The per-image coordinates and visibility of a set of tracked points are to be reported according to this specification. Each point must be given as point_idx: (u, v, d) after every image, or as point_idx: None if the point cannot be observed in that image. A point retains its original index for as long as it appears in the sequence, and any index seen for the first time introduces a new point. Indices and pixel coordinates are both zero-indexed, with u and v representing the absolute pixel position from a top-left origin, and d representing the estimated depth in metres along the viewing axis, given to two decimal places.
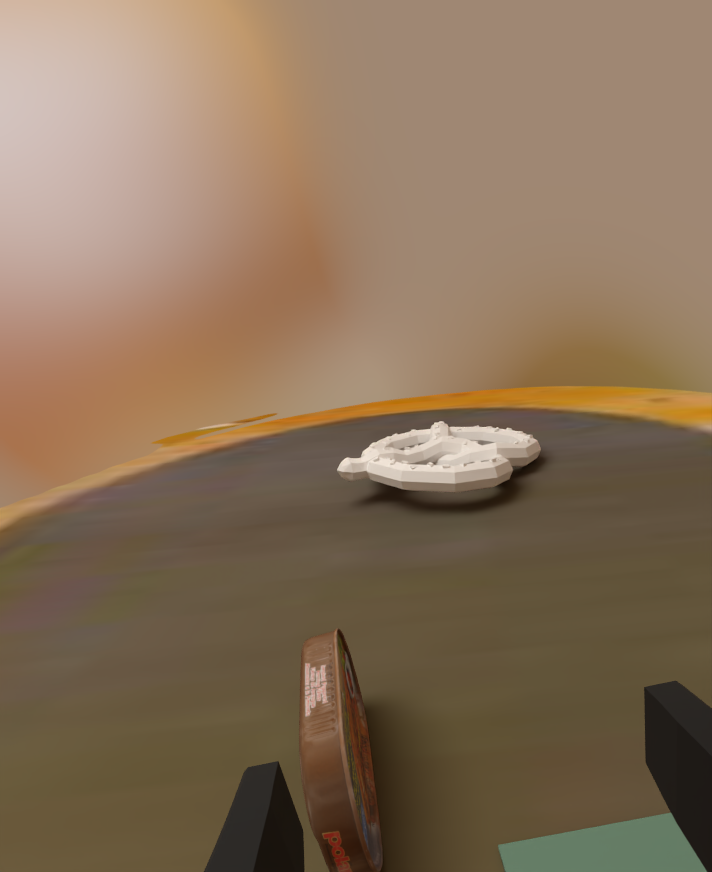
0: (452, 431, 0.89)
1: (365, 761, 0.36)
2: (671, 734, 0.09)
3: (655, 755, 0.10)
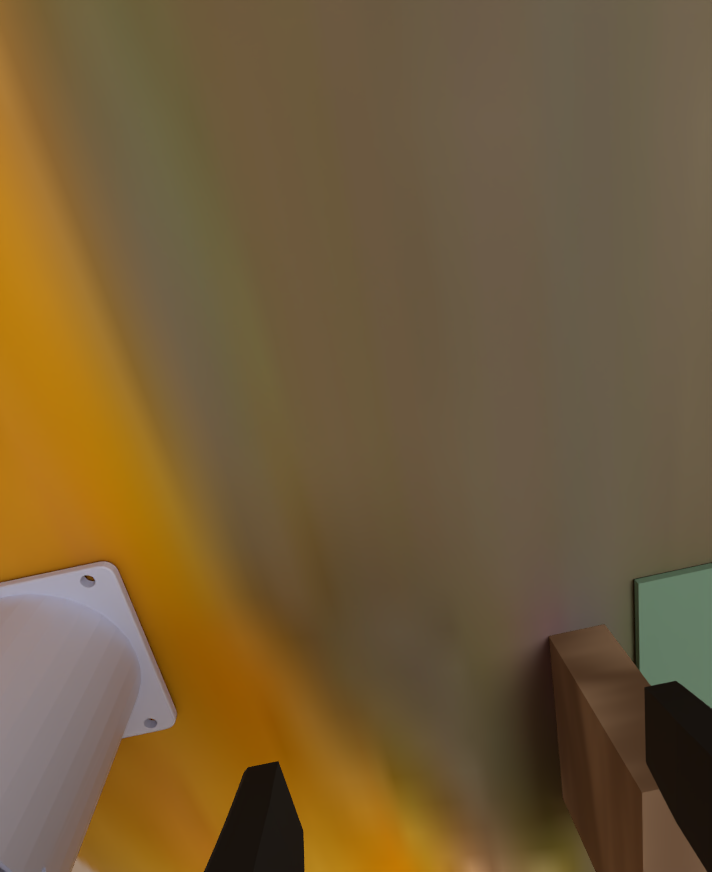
0: None
1: None
2: (671, 734, 0.09)
3: (655, 755, 0.10)
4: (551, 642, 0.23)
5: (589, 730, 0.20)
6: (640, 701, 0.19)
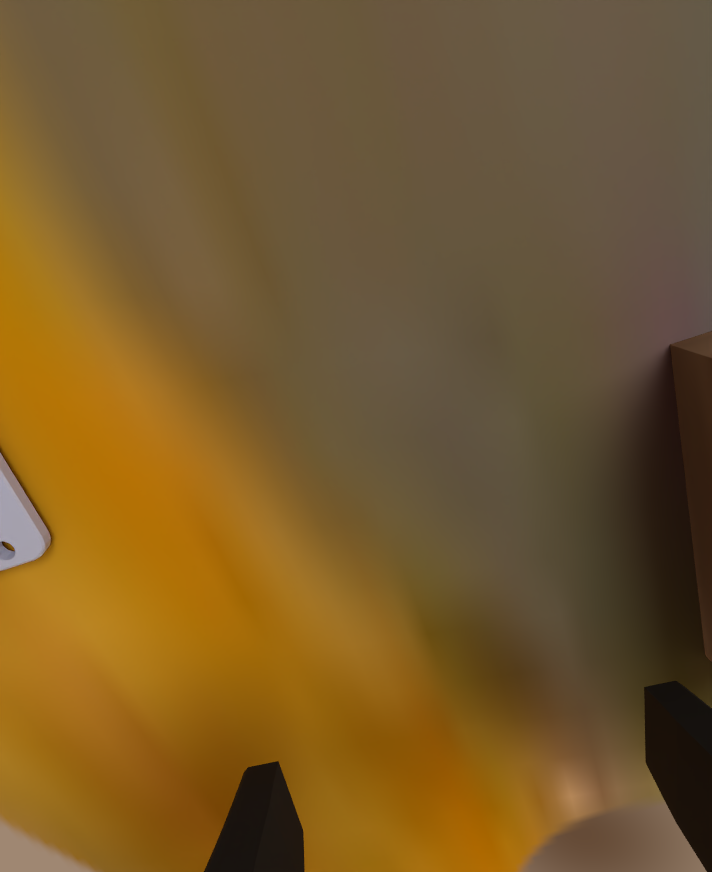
0: None
1: None
2: (671, 734, 0.09)
3: (655, 755, 0.10)
4: (676, 351, 0.13)
5: None
6: None
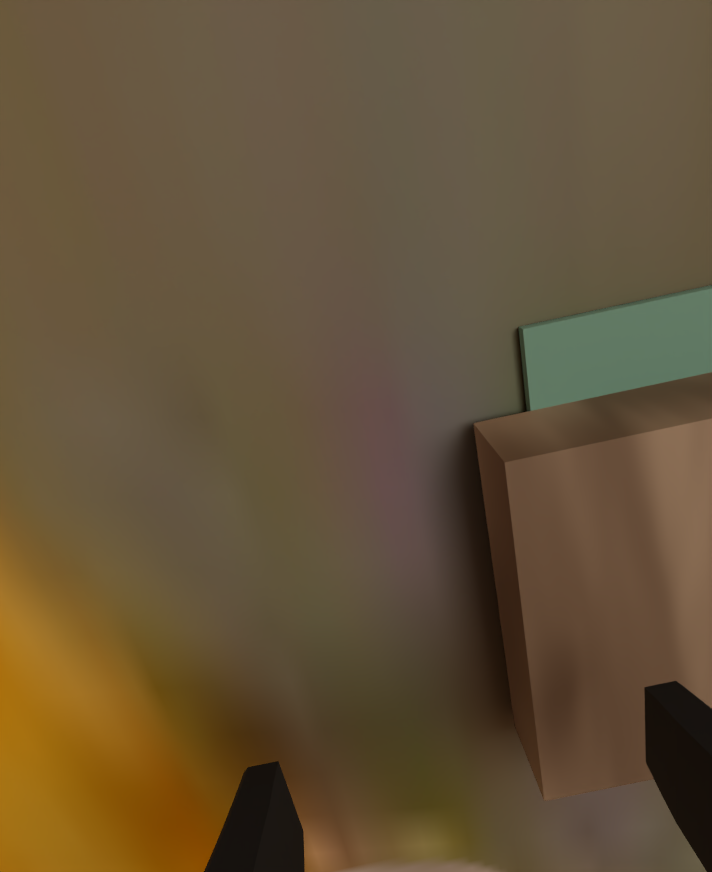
0: None
1: None
2: (671, 734, 0.09)
3: (655, 755, 0.10)
4: (520, 464, 0.11)
5: (679, 487, 0.11)
6: (652, 396, 0.12)
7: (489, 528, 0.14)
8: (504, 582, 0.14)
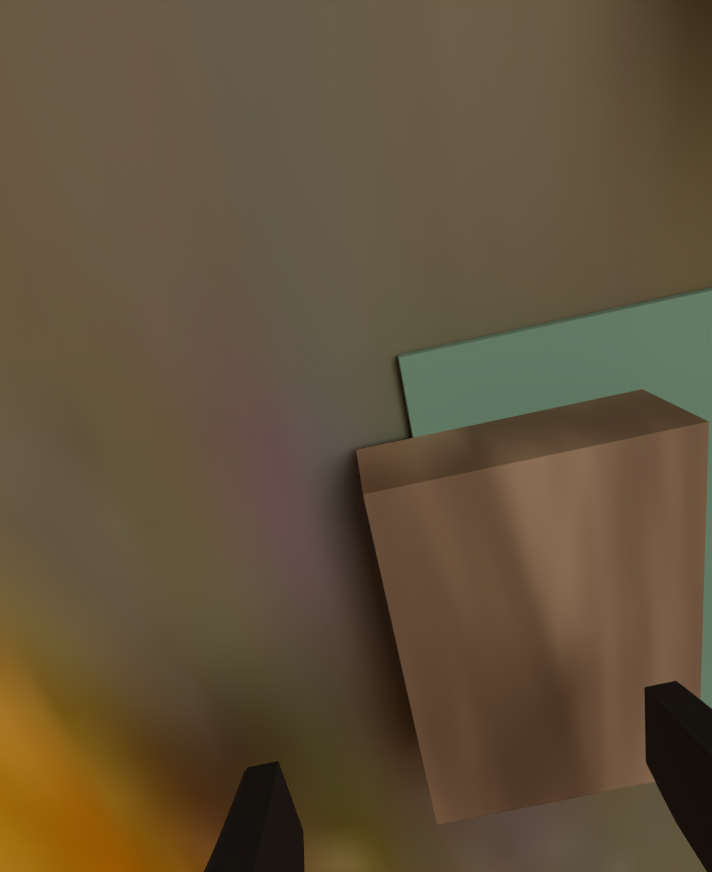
0: None
1: None
2: (671, 734, 0.09)
3: (655, 755, 0.10)
4: (379, 496, 0.11)
5: (543, 519, 0.11)
6: (528, 425, 0.12)
7: None
8: None
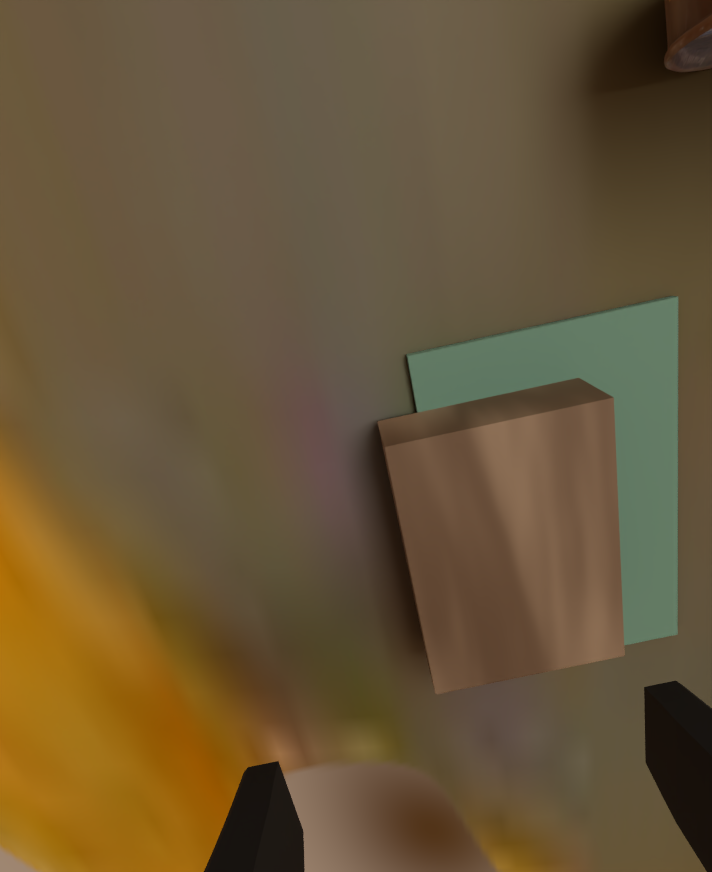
0: None
1: None
2: (671, 734, 0.09)
3: (655, 755, 0.10)
4: (395, 448, 0.16)
5: (505, 464, 0.17)
6: (497, 402, 0.18)
7: (393, 496, 0.19)
8: (401, 534, 0.19)
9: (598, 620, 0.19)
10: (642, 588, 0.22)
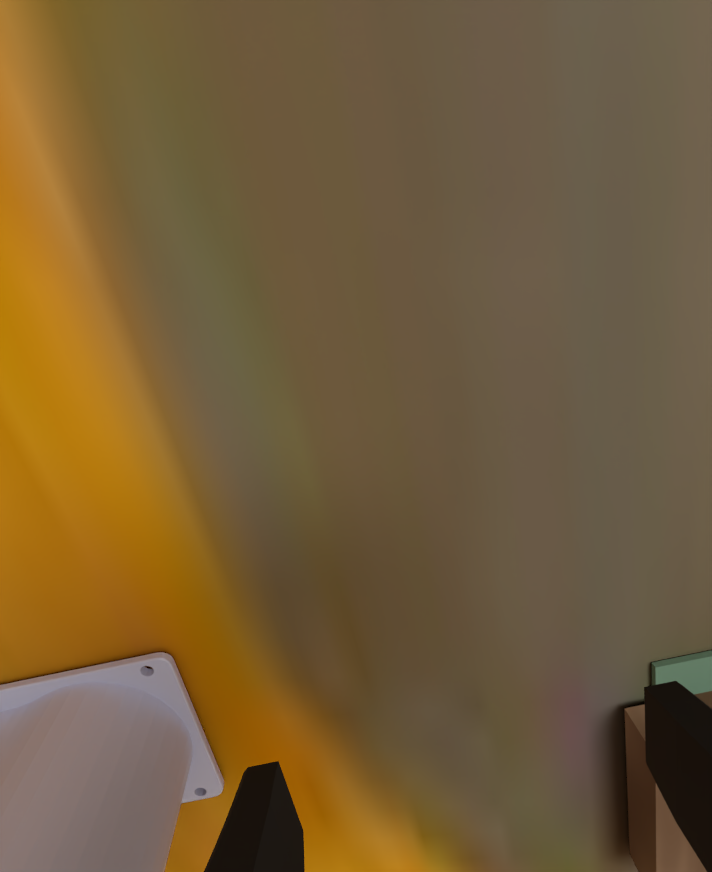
0: None
1: None
2: (671, 734, 0.09)
3: (655, 755, 0.10)
4: None
5: None
6: None
7: (628, 758, 0.25)
8: (639, 791, 0.25)
9: None
10: None
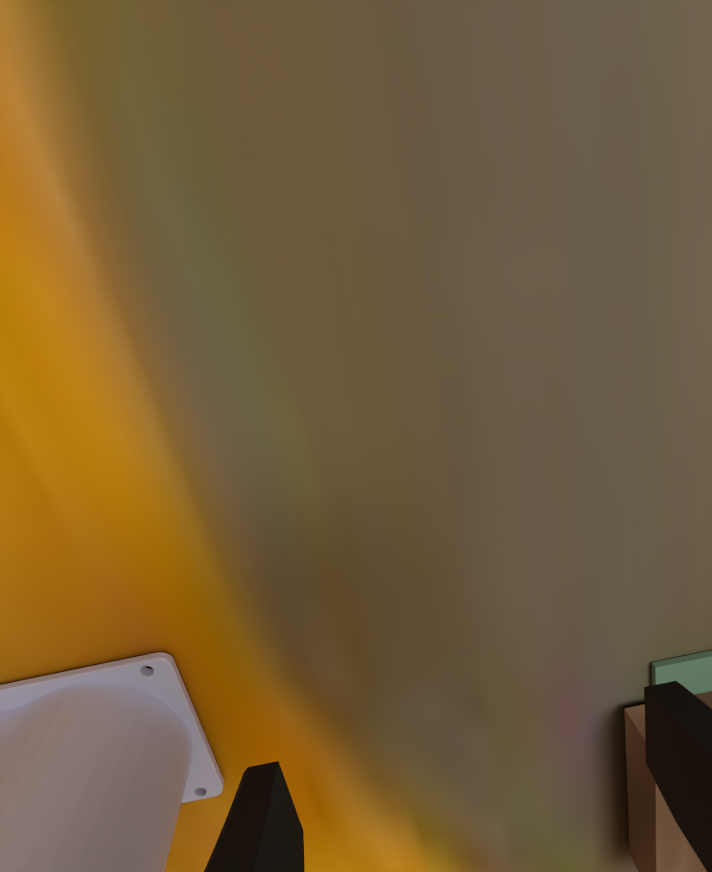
0: None
1: None
2: (671, 734, 0.09)
3: (655, 755, 0.10)
4: None
5: None
6: None
7: (628, 758, 0.25)
8: (639, 791, 0.25)
9: None
10: None
